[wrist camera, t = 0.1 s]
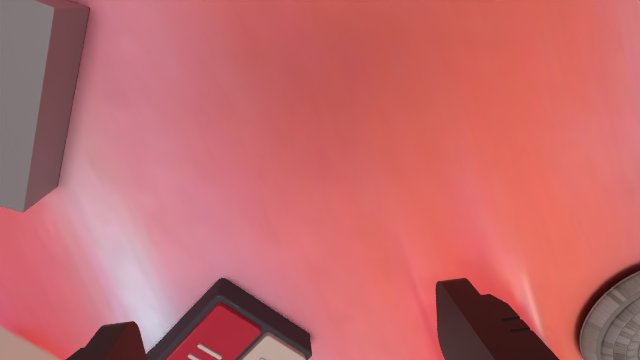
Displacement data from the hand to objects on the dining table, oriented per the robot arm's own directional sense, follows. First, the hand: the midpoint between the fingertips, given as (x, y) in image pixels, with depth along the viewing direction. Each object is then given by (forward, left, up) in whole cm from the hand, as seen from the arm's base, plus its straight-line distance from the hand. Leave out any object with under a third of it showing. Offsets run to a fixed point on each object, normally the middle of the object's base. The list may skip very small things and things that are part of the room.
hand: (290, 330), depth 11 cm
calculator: (+24, +2, -23) cm, 34 cm away
